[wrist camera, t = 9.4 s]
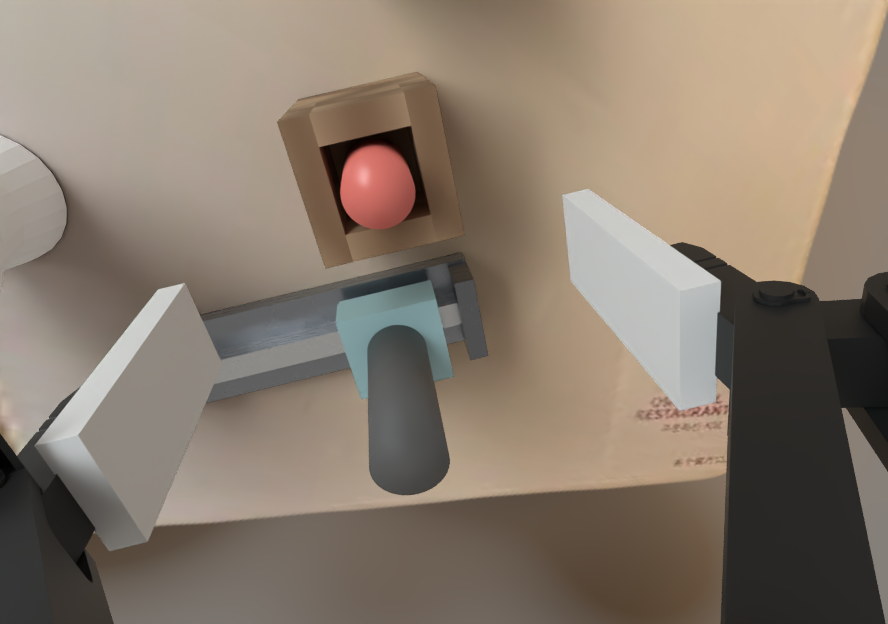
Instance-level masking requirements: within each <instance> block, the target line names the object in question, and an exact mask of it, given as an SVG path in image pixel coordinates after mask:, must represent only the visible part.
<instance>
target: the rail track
mask: <svg viewBox="0 0 888 624" xmlns="http://www.w3.org/2000/svg"><path fill="white" fill-rule="evenodd" d="M428 280H431V283H432V287H433V290H434V294H435V297H436V301H437V306H438V310H439V314H440V318H441V323H442V327H443V331H444V336H445V340H446V344H450V343H454V342H458V341H462V340H464V342H465V345H466V348H467V351H468V354H469V357H470V360H473V359H477V358H481V357H485V356H488V352H487V347H486V341H485V336H484V331H483V326H482V321H481V316H480V310H479V305H478V300H477V295H476V290H475V285H474V280H473V277H472V275H471V273H470V271H469V268H468V266H467V264H466V262H465V258H464V256H463V254H462V252H461V253H457V254H453V255H448V256H444V257H440V258H436V259H432V260H428V261H423V262H419V263H415V264H411V265H407V266H403V267H398V268H394V269H390V270H386V271H382V272H377V273H373V274H369V275H365V276H361V277H357V278H352V279H348V280H344V281H340V282H336V283H332V284H327V285H323V286H319V287H315V288H311V289H307V290H302V291H298V292H294V293H290V294H286V295H281V296H277V297H273V298H269V299H265V300H261V301H256V302H252V303H248V304H244V305H240V306H236V307H231V308H227V309H223V310H219V311H215V312H210V313H206V314H202V315H200V317H201V319H202V321H203V323H204V325H205V327H206V330H207V332H208V334H209V336H210V338H211V340H212V343H213V345H214V347H215V349H216V351H217V353H218V356H219V358H220V360H221V362H222V366H221V368H220V371H219V373H218V375H217V378H216V380H215V382H214V385H213V387H212V390H211V392H210V394H209V397H208V399H207V401H206V403H208V402H212V401H216V400H220V399H224V398H228V397H232V396H237V395H241V394H245V393H249V392H253V391H257V390H261V389H265V388H269V387H274V386H278V385H282V384H286V383H290V382H294V381H298V380H302V379H306V378H310V377H315V376H319V375H323V374H327V373H331V372H335V371H339V370H343V369H347V368H351V367H350V364H349V361H348V358H347V356H346V353H345V350H344V347H343V344H342V341H341V338H340V335H339V332H338V329H337V326H336V314H337V305H338V304H339V302H341V301H345V300H349V299H353V298H357V297H361V296H366V295H370V294H374V293H378V292H382V291H386V290H391V289H395V288H399V287H403V286H407V285H411V284H416V283H420V282H424V281H428Z"/></svg>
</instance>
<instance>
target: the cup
mask: <svg viewBox="0 0 888 624" xmlns="http://www.w3.org/2000/svg"><path fill="white" fill-rule="evenodd" d="M66 218H67V207H66V203H65V200H64V196H63V193H62V190H61V188H60V186H59V184H58V183H57V181H56V179H55V177H54V176H53V174H52V173H51V171H50V170H49V169H48V168H47V167H46V166H45V165H44V164H43V163H42V162H41V160H40V159H39V158H38V157H36V156H35V155H34V154H32V153H31V152H30V151H28V150H27V149H26V148H24V147H23V146H21V145H20V144H18V143H16V142H14V141H12V140H10V139H7V138H5V137H3V136H1V135H0V292H1V289H2V286H3V280H4V271H5V270H7V269H10V268H13V267H16V266H18V265H21V264H24V263H27V262H29V261H31V260H33V259H36V258H38V257H40V256H41V255H43V254H45V253H46V252H48V251H49V250H51V249H52V248H53V247H54V246H55V245H56V243H57V242H58V241H59V240H60V239H61V237H62V234H63V232H64V229H65V226H66Z"/></svg>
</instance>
